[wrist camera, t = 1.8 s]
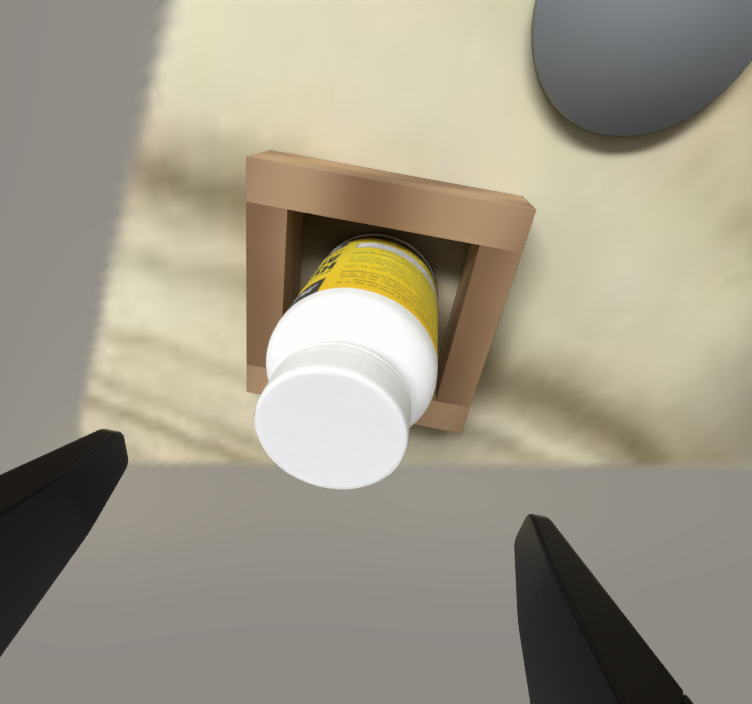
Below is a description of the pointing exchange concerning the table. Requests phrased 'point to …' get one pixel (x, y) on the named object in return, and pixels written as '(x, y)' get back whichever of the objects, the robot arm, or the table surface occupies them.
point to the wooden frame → (390, 210)
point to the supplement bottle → (352, 365)
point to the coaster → (638, 59)
